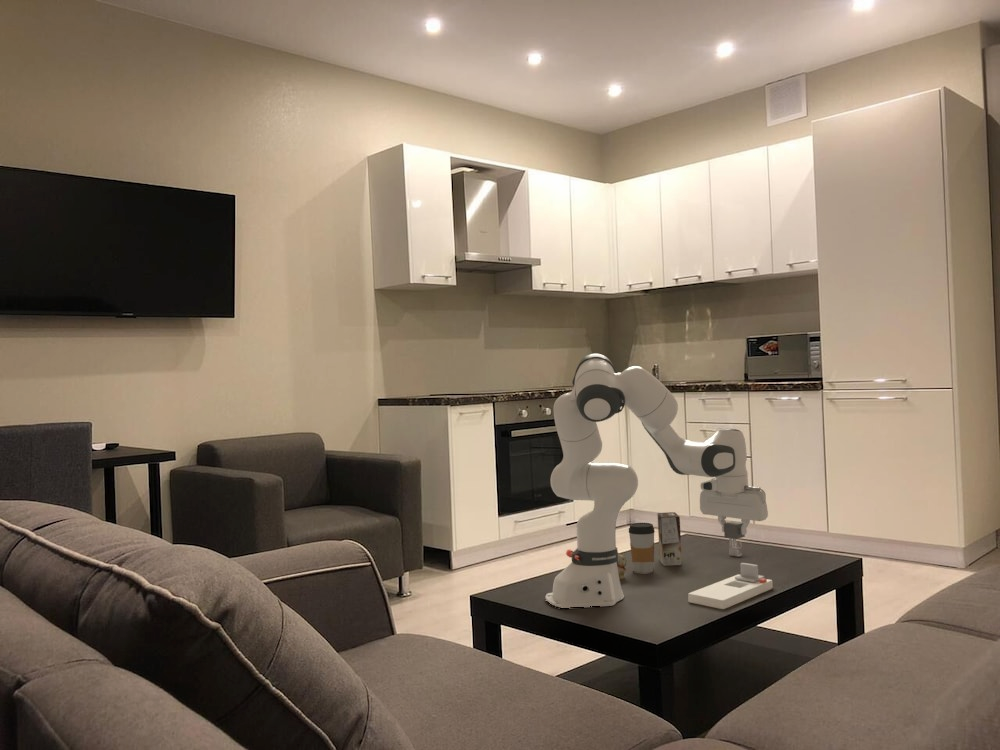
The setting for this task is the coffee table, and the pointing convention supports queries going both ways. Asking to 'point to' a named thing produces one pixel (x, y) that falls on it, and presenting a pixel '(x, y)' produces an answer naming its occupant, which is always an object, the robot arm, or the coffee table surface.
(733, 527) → the dark grey cube
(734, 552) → the grey uneven upright piece
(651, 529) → the coffee cup
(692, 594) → the socket plate
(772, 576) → the coffee table surface
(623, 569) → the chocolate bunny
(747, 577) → the grey lid with handle
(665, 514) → the coffee box
